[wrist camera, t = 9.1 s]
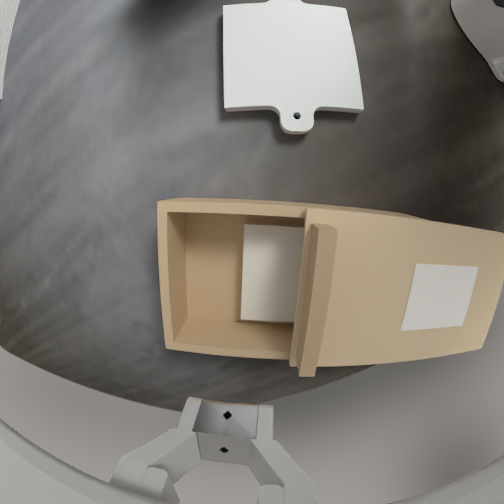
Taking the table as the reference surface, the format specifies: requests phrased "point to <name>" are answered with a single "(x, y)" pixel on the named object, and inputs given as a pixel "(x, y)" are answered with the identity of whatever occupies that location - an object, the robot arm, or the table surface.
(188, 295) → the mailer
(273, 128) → the table surface
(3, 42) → the stack of papers
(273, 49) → the mounting plate
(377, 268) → the lid
